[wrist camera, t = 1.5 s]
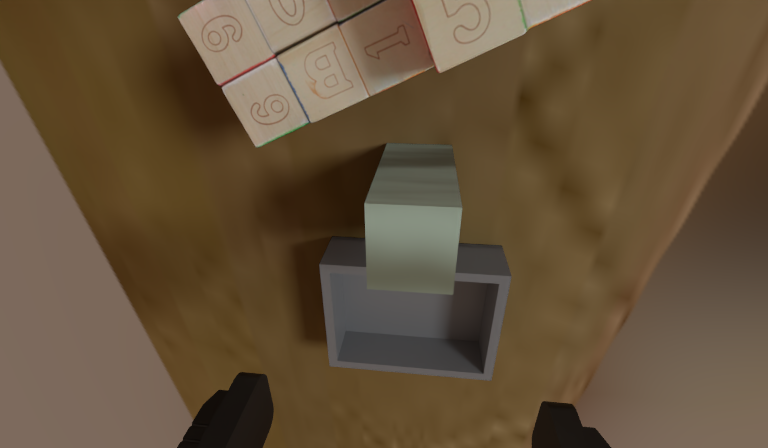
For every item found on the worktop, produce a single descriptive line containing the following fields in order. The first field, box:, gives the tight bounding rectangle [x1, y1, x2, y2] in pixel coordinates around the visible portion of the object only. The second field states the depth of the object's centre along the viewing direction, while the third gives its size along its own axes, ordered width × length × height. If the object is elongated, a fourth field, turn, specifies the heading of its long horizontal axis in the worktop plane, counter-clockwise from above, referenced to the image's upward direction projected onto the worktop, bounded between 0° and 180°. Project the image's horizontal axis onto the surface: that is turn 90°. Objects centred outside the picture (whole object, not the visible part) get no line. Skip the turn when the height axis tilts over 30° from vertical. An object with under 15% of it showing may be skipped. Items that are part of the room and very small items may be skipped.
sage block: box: [364, 143, 462, 295], centre depth 23 cm, size 5×4×10 cm
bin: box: [319, 236, 511, 381], centre depth 30 cm, size 10×13×4 cm
